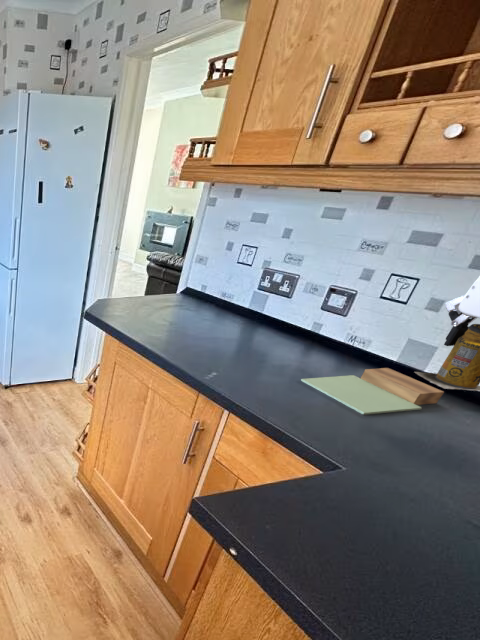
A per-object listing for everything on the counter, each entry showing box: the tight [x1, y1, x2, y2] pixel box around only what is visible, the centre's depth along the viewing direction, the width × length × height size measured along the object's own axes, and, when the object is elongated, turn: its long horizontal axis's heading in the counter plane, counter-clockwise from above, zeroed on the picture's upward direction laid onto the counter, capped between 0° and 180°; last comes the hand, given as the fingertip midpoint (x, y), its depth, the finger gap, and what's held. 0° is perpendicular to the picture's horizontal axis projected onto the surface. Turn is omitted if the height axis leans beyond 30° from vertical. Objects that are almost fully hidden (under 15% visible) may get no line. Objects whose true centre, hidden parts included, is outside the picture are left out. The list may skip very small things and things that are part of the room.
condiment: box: [414, 323, 480, 392], centre depth 83 cm, size 7×8×12 cm
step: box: [359, 367, 445, 406], centre depth 113 cm, size 8×14×4 cm, turn 10°
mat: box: [300, 374, 423, 416], centre depth 112 cm, size 18×18×1 cm
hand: (472, 351), depth 82 cm, fingers closed on condiment, 6 cm apart
